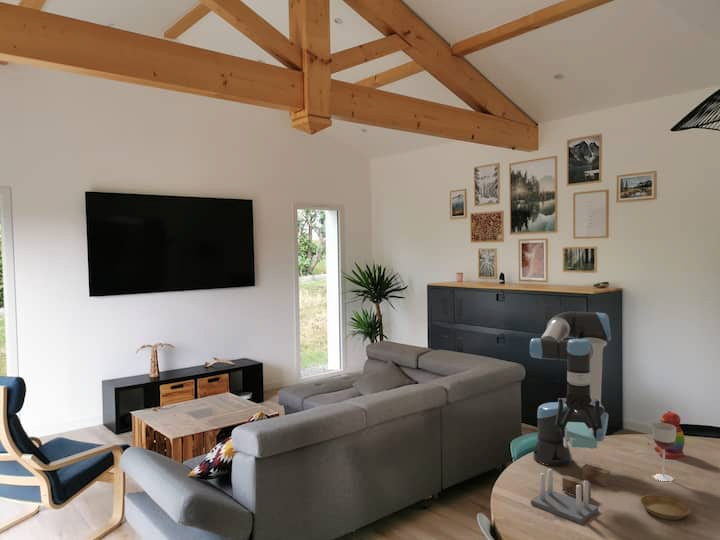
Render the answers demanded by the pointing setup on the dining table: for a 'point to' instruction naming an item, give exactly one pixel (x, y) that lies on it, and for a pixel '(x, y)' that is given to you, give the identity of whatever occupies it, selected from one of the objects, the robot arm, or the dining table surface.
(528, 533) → the dining table surface
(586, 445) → the shelf board
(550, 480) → the peg stand
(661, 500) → the plant saucer
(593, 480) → the blocks
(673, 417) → the stacking bear
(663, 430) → the wineglass
